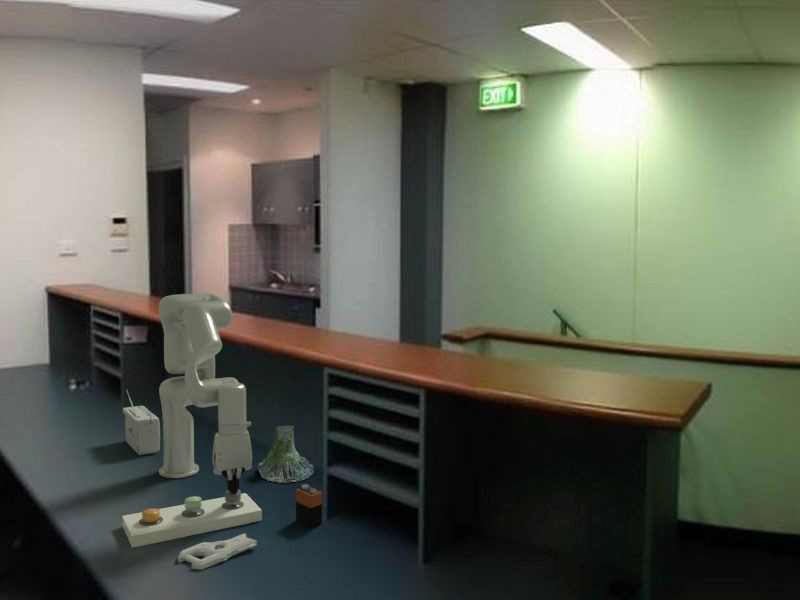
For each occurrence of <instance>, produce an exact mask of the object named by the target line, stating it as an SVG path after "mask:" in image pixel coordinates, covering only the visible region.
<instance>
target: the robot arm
mask: <svg viewBox="0 0 800 600" xmlns="http://www.w3.org/2000/svg"><path fill="white" fill-rule="evenodd" d="M158 303H159V304H158V316H159V319H160V320H159V321H160V322H161V326H162V329H163V334H164V335H163V336H164V337H163V354H164V355H163V359H164V369H165V370H166V372H168V374H172V375H178V374H179V375H181V374H184V375H183V376H182V375H181V376H174V377H170V378H167V379H165V380H163V381H162V382H161V383H160V385H159V389H158V390H159V391H158V394H159V400H160V404H161V410H162V411H161V412H162V432H163V433H162V436H163V437H162V438H163V439H162V443H163V444H162V446H163V450H162V451H163V465H162V466H161V467H160V468H159V469H158V475H160V476H161V477H162V478H163V477H164V478H167V479H181V478H187V477H191V476H193V475H195V474H197V473H198V472H199V471H200V467H199V465H198V464H197V463H195V440H194V439H195V436H194V435H195V432H194V429H195V428H194V425H195V424H194V423H195V422H194V417H193V415H192V413H191V411H188V409H187V408H186V407H187V406H192V405H194V406H195V407H197V408H208V407H213V406H215V407H216V406H218V407H217V411H218V412H217V417H218V420H217V421H218V425H217V427H218V432H215V434H214V439H213V446H212V447H213V448H212V465H213V471H212V472H213V474H214V475H216V476H217V475H218V476H224V477H225V478H226V489H227V490H228V491H229V492H230V493H231V494H234V493H238V490H240V479H241V477H242V475H243V474H244V473H245V472H246V471H248V470H251V469H252V468H253V466H252V463H253V452H252V443H251V442H252V441H251V436H250V433H249V430H248V428H249V427H252V422H251V421H247V388H246V385H245V384H243V383H240V382H239V380H238V379H236V378H235V377H231V376H230V377H221V378H219V377H218V378H216V355H217V354H219V352H221V350H222V348H223V342H222V340H221V336H220V333H219V331H218V329H224V328H225V329H226V328H228V327H230V326H231V324H232V322H233V312H232V309H231V307H230V305H229V304H228V303H227V301H226V300H224V299H223V298H221V297H220V296H218V295H216V294H213V293H206V292H205V293H182V294H181V293H180V294H171V295H166V296H164V297H162V299H160V301H159V302H158ZM232 470H233V474H232ZM227 490H226V491H227Z"/></svg>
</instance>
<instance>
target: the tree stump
mask: <svg viewBox="0 0 800 600" xmlns="http://www.w3.org/2000/svg"><path fill="white" fill-rule="evenodd" d="M294 432H295V431H294V425H279V426H275V429H274V435H273V440H272V441H273V442H272V445H271V448H270V449H269V451H268V453H267V454H266V458H264V459H263V460H262V462H259V463H258V466H256V467H257V468H256V469H257V470H258V472H259V474H260V477H261V479H263V478H264V479H263V480H265V479H266V480H267V482H268V481H271V482H270V483H274V482H278V483H277V484H280V483H284V484H292V483H291V482H296V483H299V482H298V481H301V482H303V481H302V480H305V479H307V478H309V477H310V476H311V475H312V474H313V475H314V465H313V464H312V463H311V462H310V461H309V460H308V459H306V458H305V456H301V454H299V452H298V451H297V450H296V446H295V437H294V436H295V434H294ZM313 475H312V476H313ZM312 476H311V477H312ZM311 477H310V478H311ZM310 478H309V479H310ZM288 479H290V480H288ZM291 479H293V480H291ZM294 479H295V480H294ZM266 480H265V481H266ZM307 480H308V479H307ZM305 481H306V480H305Z"/></svg>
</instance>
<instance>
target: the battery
mask: <svg viewBox="0 0 800 600" xmlns="http://www.w3.org/2000/svg"><path fill="white" fill-rule="evenodd" d="M295 520H296V522H299V523H301V524H303V525H304V526H306V527H308V528H312V527H315V526H318V525H320V524H322V523H323V492H322V491H321V490H318V489H316V488H314V487H312V486H310V485H309V484H307V483H304V484H301V487H298V488H296V489H295Z"/></svg>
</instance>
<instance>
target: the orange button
mask: <svg viewBox="0 0 800 600" xmlns="http://www.w3.org/2000/svg"><path fill="white" fill-rule="evenodd" d="M159 509H160V508H152V507H151V508H147V509H144V510H143V511H141V512H142V521H143V522H146V523H151V522H155V521H158V520H159V519H160V510H159Z"/></svg>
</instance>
